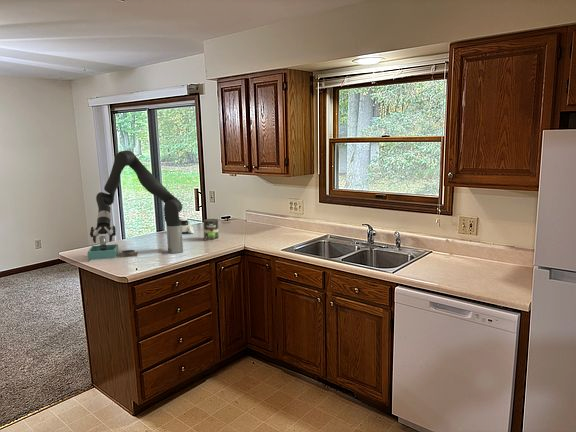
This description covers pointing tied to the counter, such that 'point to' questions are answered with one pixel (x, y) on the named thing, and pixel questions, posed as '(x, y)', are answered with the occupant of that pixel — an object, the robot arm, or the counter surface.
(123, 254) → the square framed wooden base
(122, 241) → the counter surface
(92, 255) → the bin
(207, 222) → the coffee can
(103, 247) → the tube
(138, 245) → the counter surface
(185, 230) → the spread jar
